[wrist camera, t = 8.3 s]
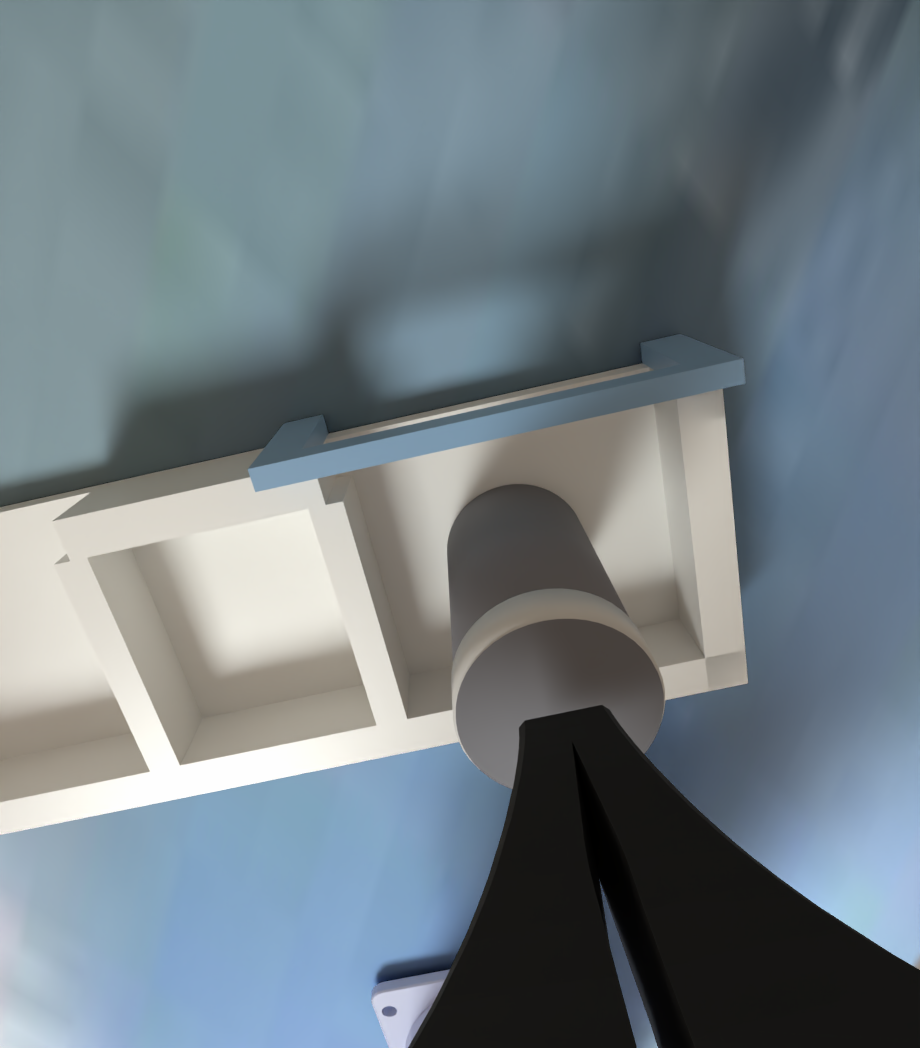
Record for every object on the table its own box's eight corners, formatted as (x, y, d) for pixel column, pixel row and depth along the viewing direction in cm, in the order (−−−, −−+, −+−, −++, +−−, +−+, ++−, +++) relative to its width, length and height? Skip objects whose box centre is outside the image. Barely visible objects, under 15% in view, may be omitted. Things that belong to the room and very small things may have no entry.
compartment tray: (711, 631, 21) (770, 714, 17) (-81, 795, 22) (-182, 904, 18) (680, 333, 18) (743, 358, 14) (-239, 541, 19) (-398, 612, 15)
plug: (594, 597, 20) (675, 778, 13) (460, 623, 20) (474, 814, 13) (576, 469, 18) (656, 599, 12) (431, 497, 19) (433, 642, 12)
